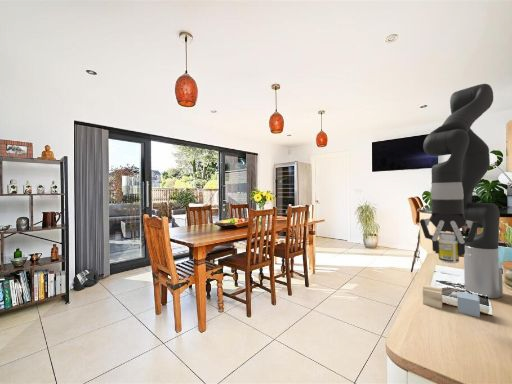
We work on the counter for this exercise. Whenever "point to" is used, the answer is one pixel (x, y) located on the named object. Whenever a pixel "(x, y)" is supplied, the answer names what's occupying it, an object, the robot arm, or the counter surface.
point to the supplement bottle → (448, 248)
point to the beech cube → (432, 296)
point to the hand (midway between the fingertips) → (448, 253)
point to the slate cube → (468, 304)
